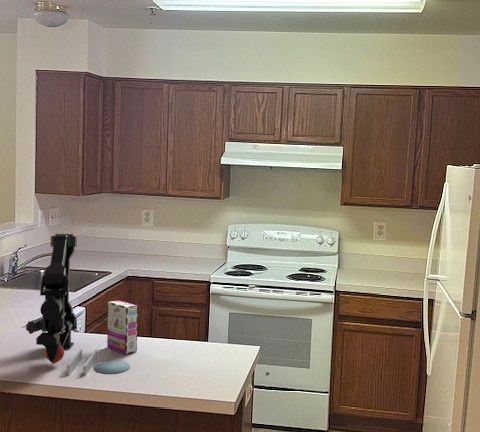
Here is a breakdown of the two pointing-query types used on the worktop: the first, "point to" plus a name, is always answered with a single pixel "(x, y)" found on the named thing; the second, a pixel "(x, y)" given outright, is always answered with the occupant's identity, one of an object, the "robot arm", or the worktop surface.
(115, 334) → the candy bar box
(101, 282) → the worktop surface
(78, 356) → the low walls
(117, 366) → the mat
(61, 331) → the robot arm
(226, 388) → the worktop surface
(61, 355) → the onion
